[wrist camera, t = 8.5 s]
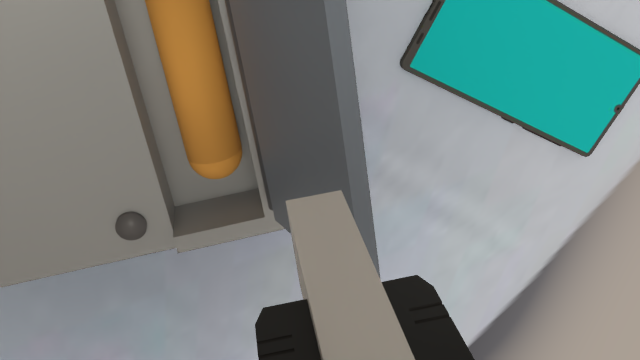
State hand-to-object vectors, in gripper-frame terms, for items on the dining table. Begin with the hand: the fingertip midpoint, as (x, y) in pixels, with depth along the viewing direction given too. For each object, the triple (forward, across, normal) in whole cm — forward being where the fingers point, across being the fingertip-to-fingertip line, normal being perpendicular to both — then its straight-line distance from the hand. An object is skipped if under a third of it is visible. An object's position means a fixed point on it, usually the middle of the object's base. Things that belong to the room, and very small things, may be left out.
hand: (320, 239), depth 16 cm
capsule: (+17, -4, +1) cm, 18 cm away
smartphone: (+21, +16, -3) cm, 26 cm away
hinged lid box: (+19, -9, +1) cm, 21 cm away
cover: (+10, 0, +1) cm, 10 cm away
